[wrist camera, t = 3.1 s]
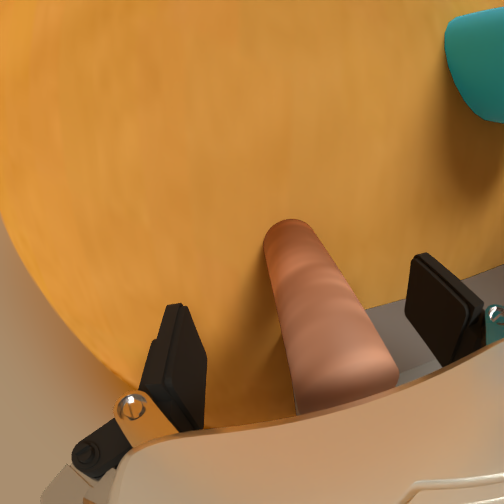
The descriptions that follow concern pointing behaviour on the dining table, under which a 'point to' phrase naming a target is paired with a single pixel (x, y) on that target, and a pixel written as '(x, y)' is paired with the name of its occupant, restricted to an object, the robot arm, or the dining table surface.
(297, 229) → the pin
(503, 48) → the mug
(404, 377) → the bore block
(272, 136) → the dining table surface
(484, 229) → the dining table surface
